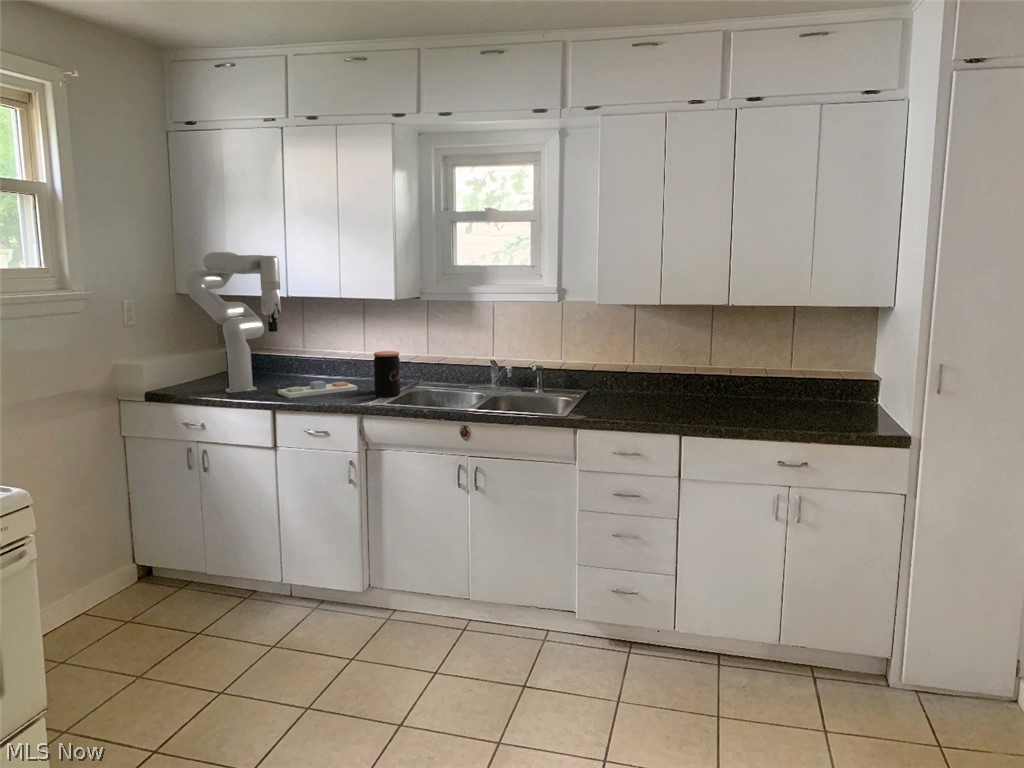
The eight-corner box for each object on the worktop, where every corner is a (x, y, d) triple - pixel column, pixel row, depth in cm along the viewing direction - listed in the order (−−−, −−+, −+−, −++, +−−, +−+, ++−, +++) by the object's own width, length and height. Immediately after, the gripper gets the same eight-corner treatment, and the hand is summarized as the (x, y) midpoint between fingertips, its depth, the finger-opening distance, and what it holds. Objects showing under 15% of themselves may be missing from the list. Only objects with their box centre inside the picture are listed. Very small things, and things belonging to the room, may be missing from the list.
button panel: (278, 396, 315) (277, 389, 314) (345, 388, 333) (344, 382, 332) (289, 401, 306) (288, 394, 305) (357, 393, 324) (357, 386, 323)
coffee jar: (393, 398, 312) (391, 354, 309) (370, 396, 316) (368, 353, 313) (404, 393, 322) (403, 351, 319) (382, 392, 326) (381, 350, 322)
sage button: (287, 397, 314) (286, 387, 313) (298, 395, 317) (298, 386, 316) (291, 399, 310) (291, 389, 309) (303, 397, 313) (303, 388, 312)
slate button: (310, 391, 319) (309, 381, 319) (321, 389, 322) (321, 380, 322) (315, 393, 316) (314, 383, 315) (326, 391, 319) (325, 382, 318)
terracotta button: (332, 391, 326) (332, 382, 325) (343, 390, 329) (343, 381, 328) (337, 393, 322) (337, 384, 321) (348, 392, 325) (348, 383, 324)
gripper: (255, 286, 312) (257, 330, 315) (268, 287, 300) (270, 333, 304) (272, 285, 317) (275, 329, 320) (286, 287, 305) (288, 332, 308)
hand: (273, 331), depth 312 cm, fingers closed
